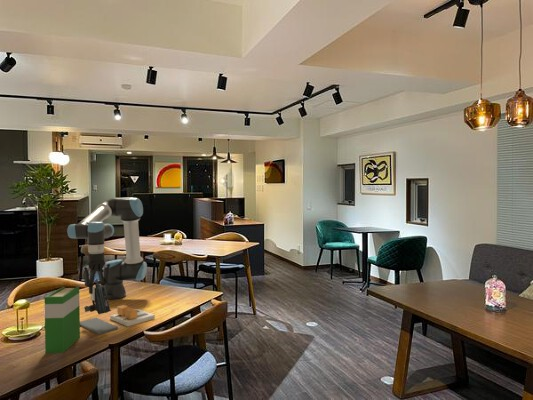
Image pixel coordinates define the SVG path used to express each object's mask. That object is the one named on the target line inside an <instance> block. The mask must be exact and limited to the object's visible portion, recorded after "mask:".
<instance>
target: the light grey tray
mask: <svg viewBox="0 0 533 400" xmlns="http://www.w3.org/2000/svg"><path fill="white" fill-rule="evenodd" d="M135 309H136V310H137V318H133V319H128V318H126V317H125V315H124V316H121V315H119V314H117V313H115V314H110V315H109V318H110V320H112V321H113V322H117V323H118V324H121V325H123V326H125V327H130V326H134V325H137V324H138V325H139V324H140V323H141V324H142V323H144V322H147V321H151V320H155V318H156V317H155V313H154V314H153V313H150V312H148V311H144V310H143V309H140V308H135Z"/></svg>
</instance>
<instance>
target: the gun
mask: <svg viewBox="0 0 533 400" xmlns="http://www.w3.org/2000/svg"><path fill="white" fill-rule="evenodd" d="M94 282H95V285H94V287H95V300H91V303H92V304H90V305H85V306H84V307H83V308H84V312H85V313H88V312H90V313H92V312H93V313H94V312H95V311H96V312H97V314H98V315H102V314H106V313H109V312H111V311H112V309H111V308H110V304H109V299H108V297H107V294H106V290H105V285H104V286H100V285H101V284H100V282H99V279H94Z"/></svg>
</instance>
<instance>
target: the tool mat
mask: <svg viewBox="0 0 533 400" xmlns="http://www.w3.org/2000/svg"><path fill="white" fill-rule="evenodd" d="M80 327H81V328H84V329H86V330H88V331H90V332H92V333H94V334H96V335H102V334H105V333H108V332H109V333H110V332H113V331H115V330H118V329H119V328H118V326H117V325H114V324H112V323H109V322H108V321H105V320H103V319H101V318H98V317H94V318H93V317H92V318H89V319H85V320H80Z"/></svg>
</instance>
